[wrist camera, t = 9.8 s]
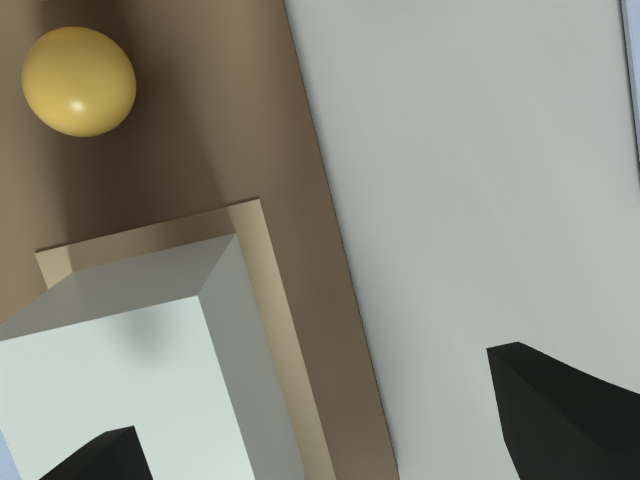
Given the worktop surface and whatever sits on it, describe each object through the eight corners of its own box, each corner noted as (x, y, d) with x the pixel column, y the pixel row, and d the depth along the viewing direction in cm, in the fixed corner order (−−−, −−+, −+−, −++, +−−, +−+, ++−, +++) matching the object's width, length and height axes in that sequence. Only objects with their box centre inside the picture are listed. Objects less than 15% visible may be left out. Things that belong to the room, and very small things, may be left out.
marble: (131, 20, 18) (93, 7, 15) (161, 120, 19) (130, 126, 16) (36, 45, 18) (-19, 37, 15) (70, 143, 19) (23, 153, 16)
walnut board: (222, -249, 17) (215, -271, 16) (398, 471, 23) (401, 490, 22) (-166, -134, 18) (-197, -148, 17) (98, 533, 24) (87, 554, 23)
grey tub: (236, 232, 19) (197, 295, 14) (304, 470, 22) (296, 611, 16) (72, 272, 20) (-34, 349, 14) (155, 501, 22) (94, 651, 16)
